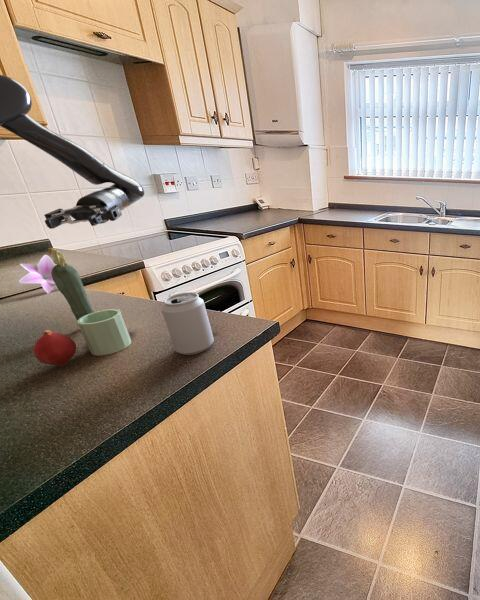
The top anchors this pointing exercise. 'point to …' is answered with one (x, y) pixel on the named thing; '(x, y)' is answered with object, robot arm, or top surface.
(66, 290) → the vegetable
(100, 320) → the tube
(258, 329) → the top surface
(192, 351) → the can
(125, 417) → the top surface
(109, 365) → the top surface
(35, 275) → the lily
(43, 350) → the onion
